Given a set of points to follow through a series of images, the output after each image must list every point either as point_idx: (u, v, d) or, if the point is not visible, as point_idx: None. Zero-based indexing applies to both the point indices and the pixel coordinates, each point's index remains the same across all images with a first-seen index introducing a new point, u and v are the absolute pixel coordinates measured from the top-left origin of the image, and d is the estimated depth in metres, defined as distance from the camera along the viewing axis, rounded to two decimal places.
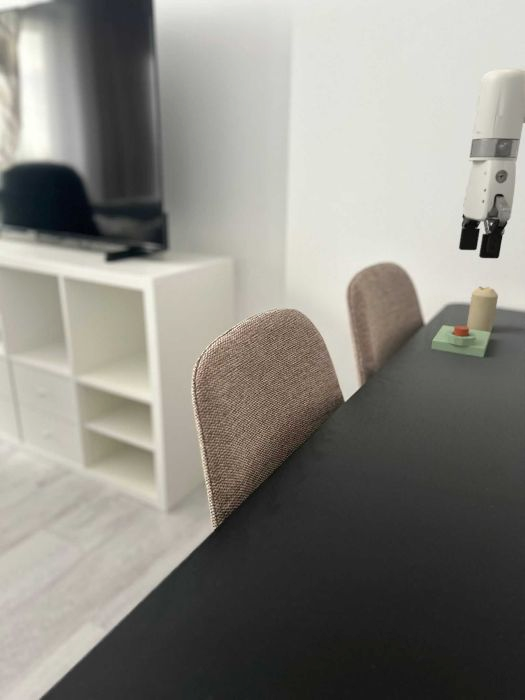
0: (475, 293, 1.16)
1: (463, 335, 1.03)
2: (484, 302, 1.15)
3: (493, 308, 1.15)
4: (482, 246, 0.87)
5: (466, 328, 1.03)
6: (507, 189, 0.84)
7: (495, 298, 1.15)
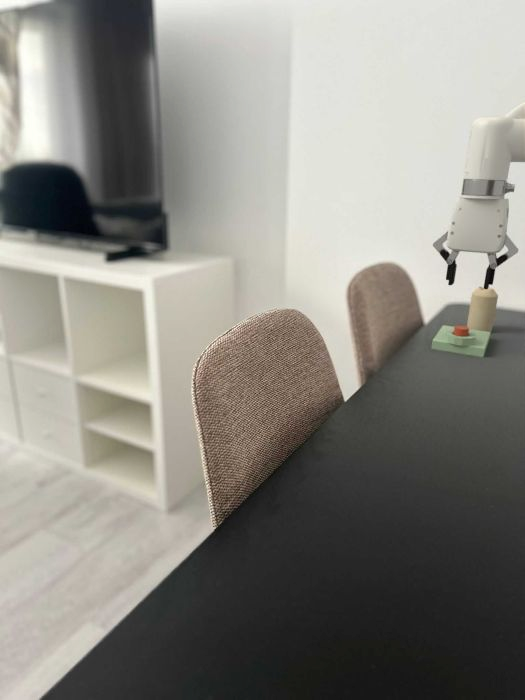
0: (475, 293, 1.16)
1: (463, 335, 1.03)
2: (484, 302, 1.15)
3: (493, 308, 1.15)
4: (488, 279, 0.97)
5: (466, 328, 1.03)
6: (507, 223, 0.96)
7: (495, 298, 1.15)
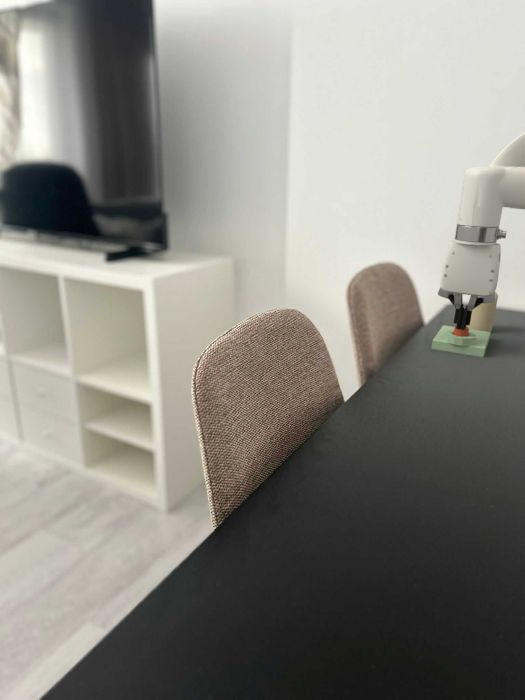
0: None
1: (463, 335, 1.03)
2: None
3: (493, 308, 1.15)
4: (465, 320, 1.01)
5: (466, 328, 1.03)
6: None
7: None
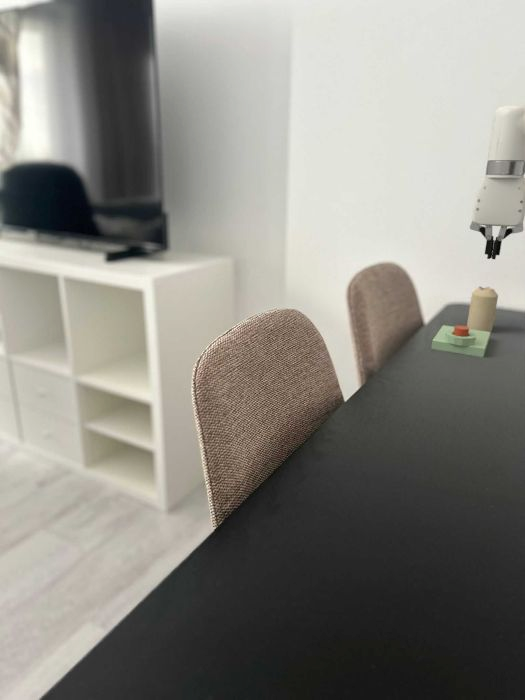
0: (475, 293, 1.16)
1: (463, 335, 1.03)
2: (484, 302, 1.15)
3: (493, 308, 1.15)
4: (496, 250, 1.11)
5: (466, 328, 1.03)
6: None
7: (495, 298, 1.15)
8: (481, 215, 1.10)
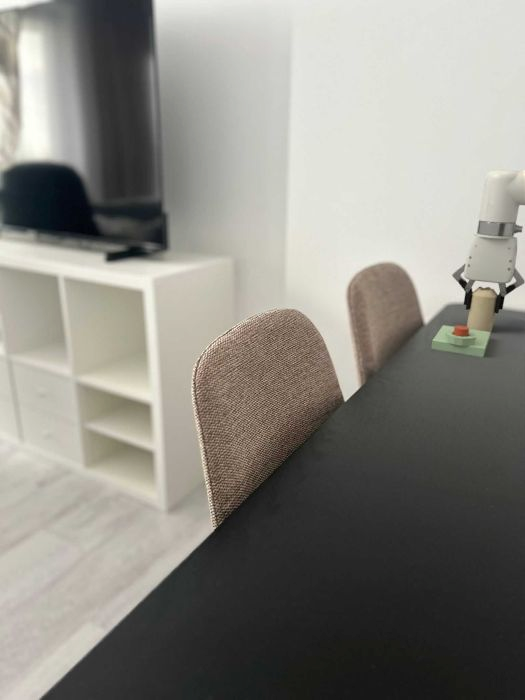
0: (475, 293, 1.16)
1: (463, 335, 1.03)
2: (484, 302, 1.15)
3: (493, 308, 1.15)
4: (499, 305, 1.15)
5: (466, 328, 1.03)
6: None
7: (495, 298, 1.15)
8: (472, 271, 1.14)
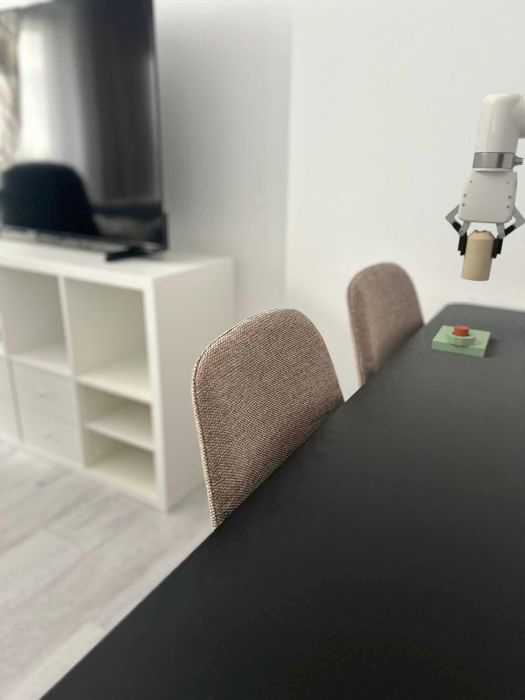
0: (470, 236, 1.04)
1: (463, 335, 1.03)
2: (480, 245, 1.03)
3: (490, 252, 1.04)
4: (496, 249, 1.03)
5: (466, 328, 1.03)
6: None
7: (492, 241, 1.03)
8: (467, 211, 1.03)
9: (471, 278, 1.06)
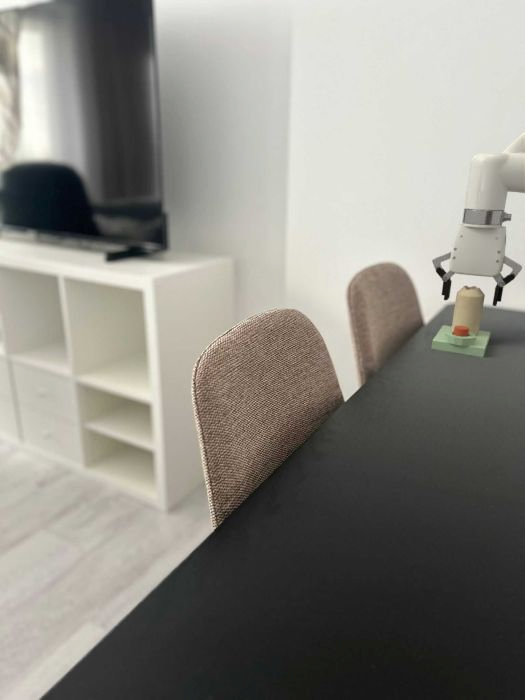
0: (460, 293, 1.07)
1: (463, 335, 1.03)
2: (469, 302, 1.06)
3: (479, 309, 1.06)
4: (497, 297, 1.04)
5: (466, 328, 1.03)
6: None
7: (481, 298, 1.06)
8: (458, 264, 1.05)
9: None
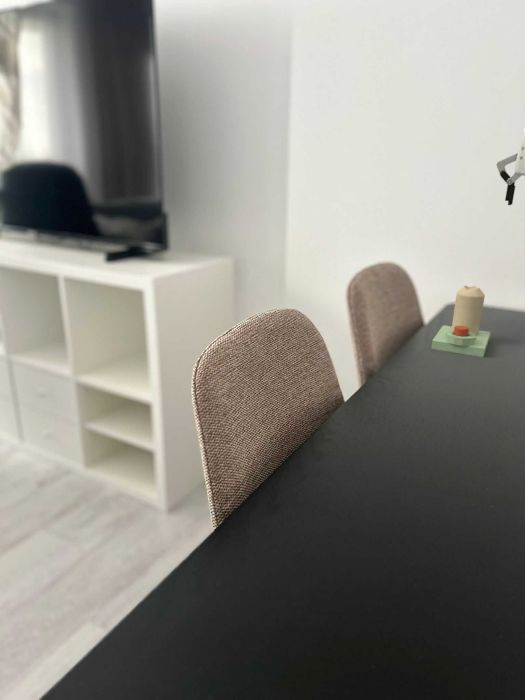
0: (460, 293, 1.07)
1: (463, 335, 1.03)
2: (469, 302, 1.06)
3: (479, 309, 1.06)
4: None
5: (466, 328, 1.03)
6: None
7: (481, 298, 1.06)
8: None
9: None
